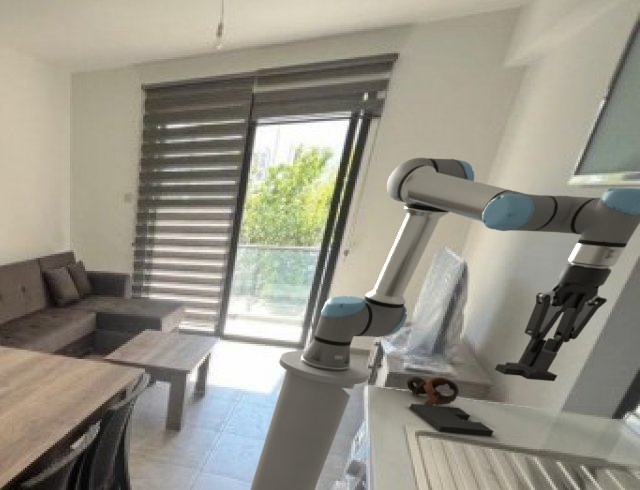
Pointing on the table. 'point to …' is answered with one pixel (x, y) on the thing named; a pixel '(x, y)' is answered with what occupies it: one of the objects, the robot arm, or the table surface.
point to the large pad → (450, 420)
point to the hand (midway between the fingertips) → (533, 364)
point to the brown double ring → (433, 389)
